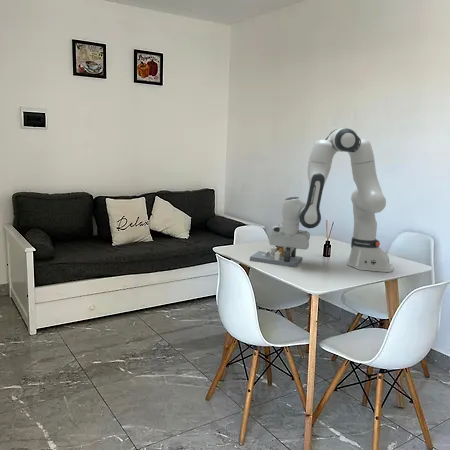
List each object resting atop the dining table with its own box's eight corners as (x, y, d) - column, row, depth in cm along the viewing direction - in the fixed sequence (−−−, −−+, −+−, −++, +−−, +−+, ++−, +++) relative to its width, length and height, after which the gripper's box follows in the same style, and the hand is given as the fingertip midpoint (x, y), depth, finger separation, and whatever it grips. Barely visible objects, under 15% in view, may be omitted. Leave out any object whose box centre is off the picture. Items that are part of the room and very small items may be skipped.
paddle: (283, 256, 237) (284, 248, 236) (281, 258, 233) (281, 249, 232) (279, 255, 238) (279, 247, 237) (276, 257, 234) (277, 249, 233)
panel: (302, 260, 238) (303, 247, 237) (295, 267, 226) (296, 253, 224) (258, 254, 247) (259, 241, 246) (249, 260, 235) (250, 247, 233)
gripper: (311, 230, 230) (309, 257, 232) (272, 225, 238) (270, 251, 240) (308, 232, 224) (306, 259, 227) (268, 227, 232) (267, 254, 234)
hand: (287, 255), depth 233 cm, fingers closed
